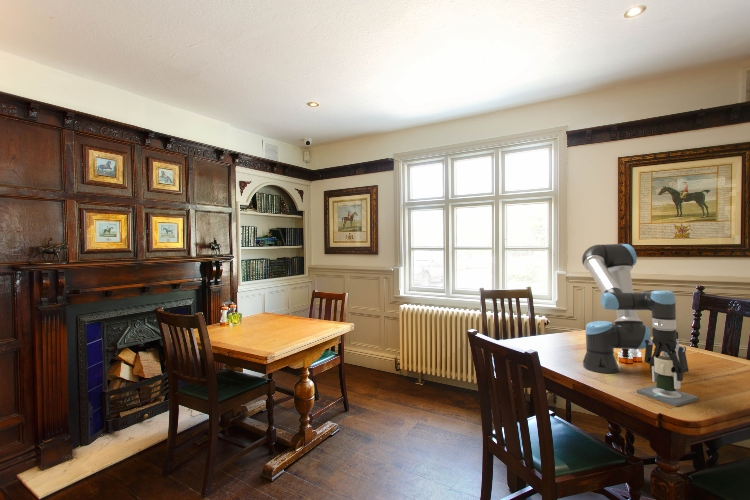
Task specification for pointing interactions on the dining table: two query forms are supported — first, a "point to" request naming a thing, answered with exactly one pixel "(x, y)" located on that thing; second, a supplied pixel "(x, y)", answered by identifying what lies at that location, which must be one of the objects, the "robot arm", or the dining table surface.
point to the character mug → (664, 373)
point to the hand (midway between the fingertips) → (666, 384)
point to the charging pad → (667, 395)
